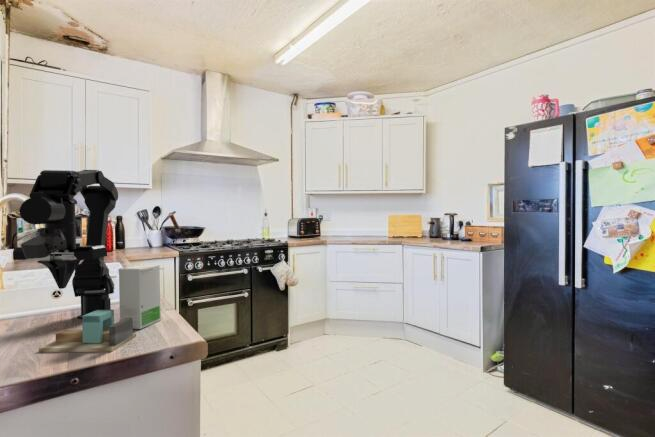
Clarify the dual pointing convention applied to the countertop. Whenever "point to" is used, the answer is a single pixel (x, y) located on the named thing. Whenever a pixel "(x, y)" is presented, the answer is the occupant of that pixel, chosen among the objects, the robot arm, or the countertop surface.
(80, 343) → the board
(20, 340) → the countertop surface
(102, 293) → the robot arm
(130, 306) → the skincare box
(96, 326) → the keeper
